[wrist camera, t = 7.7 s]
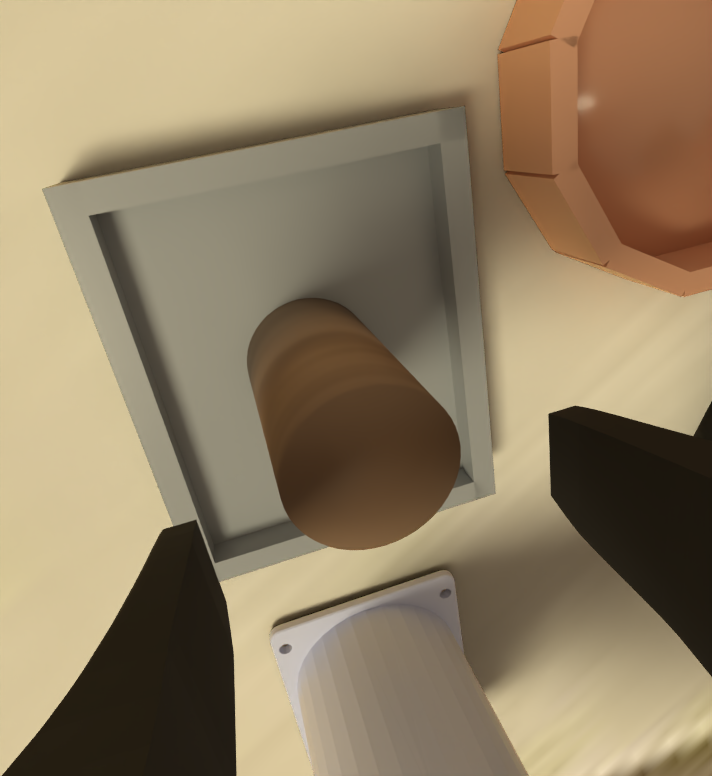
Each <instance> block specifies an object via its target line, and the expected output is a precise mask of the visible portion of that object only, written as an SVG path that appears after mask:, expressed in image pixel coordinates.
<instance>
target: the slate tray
mask: <svg viewBox="0 0 712 776" xmlns="http://www.w3.org/2000/svg"><path fill="white" fill-rule="evenodd" d="M42 190H43V193H44V195H45V198H46V200H47V203H48V206H49V208H50V211H51V213H52V216H53V218H54V221H55V224H56V226H57V229H58V231H59V234H60V236H61V239H62V242H63V244H64V247H65V249H66V252H67V254H68V257H69V259H70V262H71V265H72V267H73V270H74V272H75V275H76V277H77V280H78V283H79V285H80V288H81V290H82V293H83V295H84V298H85V301H86V303H87V306H88V308H89V311H90V313H91V316H92V318H93V321H94V324H95V326H96V329H97V331H98V334H99V336H100V339H101V342H102V344H103V347H104V349H105V352H106V354H107V357H108V359H109V362H110V365H111V367H112V370H113V372H114V375H115V377H116V380H117V383H118V385H119V388H120V390H121V393H122V395H123V398H124V401H125V403H126V406H127V408H128V411H129V413H130V416H131V418H132V421H133V424H134V426H135V429H136V431H137V434H138V436H139V439H140V442H141V444H142V447H143V449H144V452H145V454H146V457H147V460H148V462H149V465H150V467H151V470H152V472H153V475H154V477H155V480H156V483H157V485H158V488H159V490H160V493H161V495H162V498H163V501H164V503H165V506H166V508H167V511H168V513H169V516H170V518H171V521H172V524H173V526H176V525H180V524H183V523H186V522H190V521H193V520H197V523H198V526H199V528H200V531H201V534H202V537H203V539H204V542H205V545H206V548H207V550H208V553H209V556H210V559H211V561H212V564H213V567H214V569H215V572H216V575H217V578H218V580H219V582H221V581H224V580H227V579H230V578H233V577H236V576H240V575H243V574H246V573H249V572H252V571H255V570H258V569H261V568H265V567H268V566H271V565H274V564H277V563H280V562H283V561H286V560H289V559H293V558H296V557H299V556H302V555H305V554H308V553H311V552H314V551H318V550H321V549H324V548H327V547H329V546H326V545H323V544H320V543H318V542H316V541H314V540H312V539H311V538H309V537H308V536H306V535H305V534H303V533H302V532H301V531H300V530H299V529H298V528H297V527H296V526H295V525H294V524H293V522H292V521H291V520H290V518H289V517H288V515H287V513H286V511H285V510H284V507H283V504H282V501H281V499H280V495H279V491H278V487H277V483H276V479H275V475H274V472H273V468H272V464H271V460H270V456H269V452H268V448H267V444H266V441H265V437H264V433H263V429H262V425H261V421H260V417H259V413H258V410H257V406H256V402H255V398H254V394H253V390H252V386H251V383H250V379H249V375H248V369H247V352H248V347H249V343H250V341H251V338H252V336H253V334H254V332H255V330H256V328H257V327H258V326H259V324H260V323H261V322H262V321H263V320H264V318H265V317H266V316H267V315H269V314H270V313H271V312H272V311H274V310H275V309H277V308H278V307H280V306H282V305H284V304H286V303H288V302H291V301H294V300H298V299H304V298H322V299H327V300H331V301H334V302H336V303H339V304H341V305H342V306H344V307H346V308H347V309H349V310H350V311H351V312H352V313H353V314H354V315H355V316H356V317H357V318H358V319H359V320H360V321H361V322H362V323H363V324H364V325H365V326H366V327H367V328H368V329H369V330H370V331H371V332H372V333H373V334H374V335H375V336H376V338H377V339H378V340H379V341H380V342H381V343H382V344H383V345H384V346H385V347H386V348H387V349H388V350H389V351H390V352H391V353H392V354H393V355H394V356H395V357H396V358H397V360H398V361H399V362H400V363H401V364H402V365H403V366H404V367H405V368H406V369H407V370H408V371H409V372H410V373H411V374H412V375H413V376H414V377H415V378H416V379H417V381H418V382H419V383H420V384H421V385H422V386H423V387H424V388H425V389H426V390H427V391H428V392H429V393H430V394H431V395H432V396H433V397H434V398H435V399H436V400H437V401H438V403H439V404H440V405H441V406H442V407H443V408H444V409H445V410H446V411H447V413H448V414H449V415H450V417H451V418H452V420H453V422H454V424H455V426H456V429H457V432H458V435H459V440H460V446H461V460H460V468H459V472H458V476H457V479H456V481H455V484H454V486H453V489H452V491H451V492H450V494H449V496H448V498H447V499H446V501H445V502H444V504H443V505H442V507H441V508H440V509H439V510H438V511H437V512H439V511H443V510H446V509H449V508H452V507H455V506H458V505H461V504H464V503H467V502H471V501H474V500H477V499H480V498H483V497H486V496H489V495H492V494H496V492H495V479H494V467H493V454H492V441H491V429H490V416H489V404H488V391H487V379H486V366H485V353H484V341H483V328H482V316H481V303H480V291H479V278H478V265H477V253H476V240H475V228H474V215H473V203H472V190H471V177H470V165H469V152H468V140H467V127H466V115H465V106H460V107H452V108H444V109H436V110H431V111H426V112H421V113H415V114H410V115H405V116H400V117H395V118H390V119H385V120H380V121H375V122H369V123H364V124H359V125H354V126H349V127H344V128H339V129H334V130H329V131H323V132H318V133H313V134H308V135H303V136H298V137H293V138H288V139H283V140H277V141H272V142H267V143H262V144H257V145H252V146H247V147H242V148H237V149H231V150H226V151H221V152H216V153H211V154H206V155H201V156H196V157H191V158H185V159H180V160H175V161H170V162H165V163H160V164H155V165H150V166H145V167H139V168H134V169H129V170H124V171H119V172H114V173H109V174H104V175H99V176H93V177H88V178H83V179H78V180H73V181H68V182H63V183H58V184H55V185H52V186H49V187H46V188H43V189H42Z"/></svg>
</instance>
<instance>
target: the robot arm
mask: <svg viewBox="0 0 712 776" xmlns="http://www.w3.org/2000/svg"><path fill="white" fill-rule="evenodd" d="M549 445H550V477H551V496H552V497H553V499H554V500H555V502H556V503H557V504H558V506H559V507H560V509H561V510H562V511H563V513H564V514H565V516H566V517H567V518H568V520H569V521H570V522H571V523H572V525H573V526H574V527H575V529H576V530H577V531H578V532H579V534H580V535H581V536H582V537H583V538H584V539H585V540H586V541H587V542H588V543H589V544H590V545H591V546H592V547H593V548H594V549H595V550H596V551H597V553H598V554H599V555H600V556H601V557H602V558H603V559H604V560H605V561H606V562H607V563H608V564H609V565H610V566H611V567H612V568H613V569H614V570H615V571H616V572H617V573H618V574H619V575H620V576H621V577H622V578H623V579H624V580H625V581H626V582H627V583H628V584H629V585H630V586H631V587H632V588H633V589H634V590H635V591H636V592H637V593H638V594H639V595H640V596H641V597H642V598H643V599H644V600H645V601H646V602H647V603H648V604H649V605H650V606H651V607H652V608H653V609H654V610H655V611H656V612H657V613H658V614H659V615H660V616H661V617H662V618H663V620H664V621H665V622H666V623H667V624H668V625H669V626H670V627H671V628H672V629H673V630H674V632H675V633H676V634H677V635H678V636H679V637H680V638H681V640H682V641H683V642H684V643H685V644H686V646H687V647H688V648H689V649H690V651H691V652H692V653H693V654H694V655H695V657H696V658H697V659H698V660H699V662H700V663H701V664H702V665H703V667H704V668H705V669H706V670H707V671H708V673H709V674H710V675H711V676H712V441H710V440H706V439H702V438H698V437H694V436H690V435H686V434H683V433H679V432H675V431H671V430H668V429H664V428H660V427H657V426H653V425H650V424H646V423H642V422H639V421H635V420H632V419H628V418H624V417H621V416H617V415H614V414H610V413H606V412H602V411H598V410H594V409H590V408H585V407H579V406H573V407H569V408H566V409H563V410H559V411H556V412H553V413H549ZM444 589H446V590H445V591H443V592H441V591H442V590H444ZM269 638H270V644H271V647H272V650H273V653H274V656H275V659H276V662H277V665H278V668H279V671H280V674H281V677H282V680H283V683H284V686H285V689H286V692H287V695H288V698H289V701H290V704H291V707H292V710H293V713H294V715H295V718H296V721H297V724H298V727H299V730H300V733H301V736H302V739H303V742H304V745H305V748H306V751H307V754H308V757H309V760H310V763H311V766H312V769H313V773H314V776H529V775H528V773H527V771H526V770H525V768H524V766H523V764H522V762H521V760H520V758H519V756H518V755H517V753H516V751H515V749H514V747H513V745H512V743H511V742H510V740H509V738H508V736H507V734H506V732H505V730H504V728H503V727H502V725H501V723H500V721H499V719H498V717H497V715H496V714H495V712H494V710H493V708H492V706H491V704H490V702H489V701H488V699H487V697H486V695H485V693H484V691H483V689H482V687H481V686H480V684H479V682H478V680H477V678H476V676H475V674H474V673H473V671H472V669H471V667H470V665H469V663H468V661H467V660H466V658H465V656H464V649H463V641H462V634H461V626H460V618H459V610H458V602H457V594H456V587H455V580H454V577H453V576H452V574H451V573H450V572H449V571H447V570H441V571H437V572H434V573H431V574H428V575H425V576H422V577H419V578H417V579H414V580H411V581H408V582H405V583H402V584H399V585H396V586H393V587H390V588H387V589H384V590H381V591H378V592H375V593H372V594H369V595H366V596H363V597H360V598H357V599H355V600H352V601H349V602H346V603H343V604H340V605H337V606H334V607H331V608H328V609H325V610H322V611H319V612H316V613H313V614H310V615H307V616H304V617H301V618H298V619H295V620H292V621H290V622H287V623H284V624H281V625H278V626H276V627H274V628H273V629H272V630H271V632H270V634H269ZM284 644H288V645H286V646H282V645H284ZM2 776H236V734H235V689H234V654H233V645H232V638H231V630H230V624H229V617H228V610H227V604H226V600H225V597H224V594H223V591H222V589H221V586H220V583H219V580H218V578H217V575H216V572H215V569H214V567H213V564H212V561H211V559H210V556H209V553H208V550H207V548H206V545H205V542H204V539H203V537H202V534H201V531H200V528H199V526H198V523H197V520H193V521H190V522H186V523H183V524H180V525H176V526H173V527H170V528H166V529H163V530H162V532H161V533H160V535H159V537H158V539H157V541H156V543H155V544H154V546H153V548H152V550H151V552H150V554H149V556H148V558H147V560H146V562H145V564H144V566H143V568H142V570H141V572H140V574H139V576H138V578H137V580H136V582H135V584H134V586H133V588H132V589H131V591H130V593H129V595H128V597H127V598H126V600H125V602H124V604H123V606H122V607H121V609H120V611H119V613H118V615H117V616H116V618H115V620H114V622H113V623H112V625H111V627H110V628H109V630H108V632H107V633H106V635H105V636H104V638H103V640H102V641H101V643H100V644H99V646H98V648H97V649H96V651H95V652H94V654H93V656H92V657H91V659H90V661H89V662H88V664H87V665H86V667H85V668H84V670H83V671H82V673H81V674H80V676H79V677H78V679H77V680H76V682H75V683H74V685H73V686H72V688H71V689H70V690H69V692H68V693H67V695H66V696H65V697H64V699H63V700H62V701H61V703H60V704H59V705H58V707H57V708H56V709H55V711H54V712H53V713H52V715H51V716H50V718H49V719H48V720H47V722H46V723H45V724H44V725H43V727H42V728H41V729H40V731H39V732H38V733H37V734H36V736H35V737H34V738H33V739H32V740H31V742H30V743H29V744H28V745H27V746H26V747H25V749H24V750H23V751H22V752H21V753H20V755H19V756H18V757H17V758H16V759H15V761H14V762H13V763H12V764H11V765H10V767H9V768H8V769H7V770H6V771H5V772H4V774H3V775H2Z"/></svg>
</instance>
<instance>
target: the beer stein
mask: <svg viewBox="0 0 712 776" xmlns="http://www.w3.org/2000/svg"><path fill="white" fill-rule="evenodd" d="M694 437H698V438H702V439H706V440H710V441H712V402H711V404H710V406H709V408H708V410H707V412H706V413H705V415H704V417H703V419H702V421H701V423H700V425H699V427H698V429H697V431H696V433H695V434H694Z"/></svg>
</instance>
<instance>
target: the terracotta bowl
mask: <svg viewBox="0 0 712 776" xmlns="http://www.w3.org/2000/svg"><path fill="white" fill-rule="evenodd" d="M498 50H500V51H501V52H503V53H501V54H498V72H499V90H500V109H501V127H502V145H503V163H504V170H506V171H508V172H507V173H506V174H505V175H506V177H507V178H508V180H509V181H510V183H511V185H512V186H513V188H514V189H515V191H516V193H517V194H518V196H519V197H520V199H521V201H522V202H523V204H524V205H525V207H526V209H527V210H528V212H529V213H530V215H531V217H532V218H533V220H534V221H535V223H536V225H537V226H538V228H539V229H540V231H541V233H542V234H543V236H544V237H545V239H546V241H547V242H548V244H549V245H550V247H551V249H552V250H554V251H555V252H556V253H559V254H561V255H564V256H567V257H569V258H572V259H575V260H577V261H580V262H582V263H585V264H588V265H590V266H593V267H595V268H598V269H601V270H603V271H606V272H608V273H611V274H614V275H616V276H619V277H621V278H624V279H627V280H630V281H633V282H636V283H640V284H643V285H646V286H649V287H652V288H655V289H658V290H662V291H665V292H668V293H671V294H674V295H677V296H680V297H682V296H684V297H685V296H689V295H693V294H696V293H700V292H704V291H707V290H711V289H712V0H517V1H516V3H515V6H514V9H513V11H512V14H511V17H510V19H509V22H508V25H507V27H506V30H505V33H504V35H503V38H502V41H501V43H500V46H499V49H498Z"/></svg>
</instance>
